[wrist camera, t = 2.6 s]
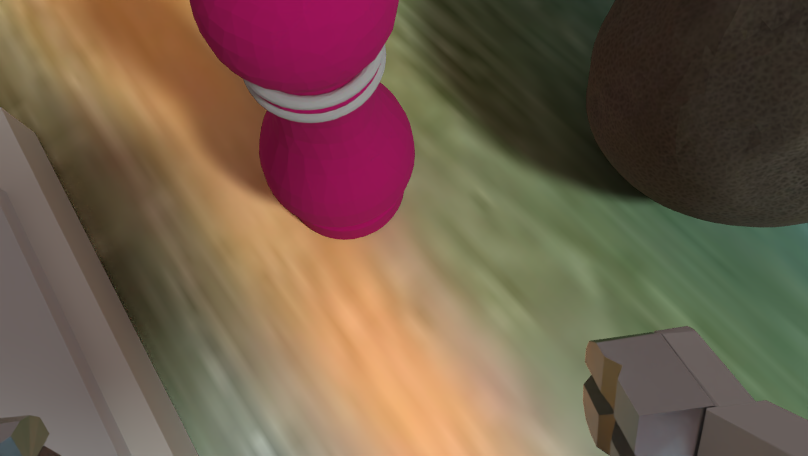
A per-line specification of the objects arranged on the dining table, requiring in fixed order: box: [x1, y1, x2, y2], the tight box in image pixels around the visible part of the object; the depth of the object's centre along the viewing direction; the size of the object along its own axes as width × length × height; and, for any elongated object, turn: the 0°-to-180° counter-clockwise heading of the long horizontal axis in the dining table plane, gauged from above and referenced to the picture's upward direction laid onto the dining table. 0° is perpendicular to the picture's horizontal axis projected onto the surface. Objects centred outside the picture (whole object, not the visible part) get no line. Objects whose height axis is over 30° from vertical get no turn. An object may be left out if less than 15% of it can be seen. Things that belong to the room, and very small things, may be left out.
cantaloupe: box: [586, 0, 808, 227], centre depth 26 cm, size 14×14×15 cm
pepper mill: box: [190, 0, 415, 240], centre depth 23 cm, size 7×7×20 cm
